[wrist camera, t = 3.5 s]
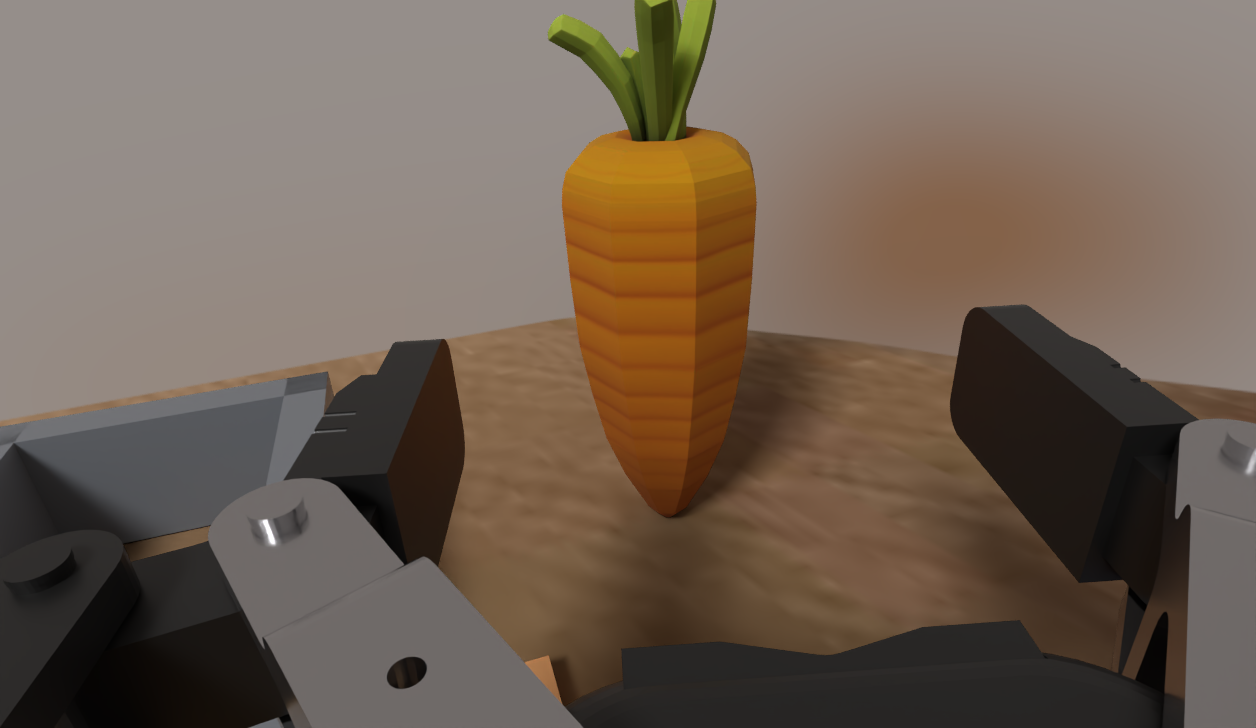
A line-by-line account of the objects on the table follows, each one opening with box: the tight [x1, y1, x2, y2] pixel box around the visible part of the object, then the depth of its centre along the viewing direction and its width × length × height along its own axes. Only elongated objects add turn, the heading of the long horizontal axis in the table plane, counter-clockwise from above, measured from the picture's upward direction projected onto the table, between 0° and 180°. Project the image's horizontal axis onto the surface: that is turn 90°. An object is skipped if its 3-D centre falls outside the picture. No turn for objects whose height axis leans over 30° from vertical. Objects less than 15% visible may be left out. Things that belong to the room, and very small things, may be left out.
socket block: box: [0, 372, 562, 728], centre depth 16 cm, size 14×18×4 cm
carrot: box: [548, 0, 756, 517], centre depth 19 cm, size 5×5×15 cm
